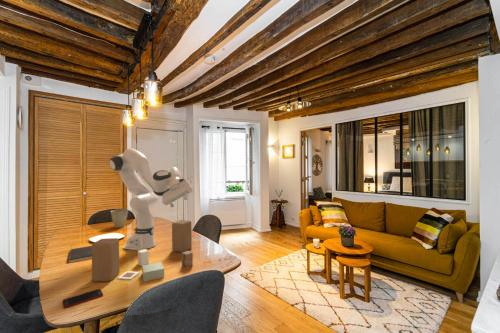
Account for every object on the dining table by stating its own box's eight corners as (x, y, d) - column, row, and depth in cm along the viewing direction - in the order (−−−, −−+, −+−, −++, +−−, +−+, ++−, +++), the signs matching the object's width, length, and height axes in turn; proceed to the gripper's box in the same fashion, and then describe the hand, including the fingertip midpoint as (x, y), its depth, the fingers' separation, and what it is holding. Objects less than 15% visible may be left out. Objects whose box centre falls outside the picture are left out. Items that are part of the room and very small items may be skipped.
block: (192, 248, 175) (191, 220, 175) (182, 253, 166) (182, 223, 166) (181, 246, 179) (181, 219, 179) (171, 250, 170) (171, 222, 170)
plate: (99, 246, 181) (99, 243, 181) (84, 241, 193) (84, 238, 193) (129, 238, 200) (129, 235, 200) (113, 234, 213) (113, 231, 213)
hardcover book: (96, 248, 178) (96, 244, 178) (98, 258, 159) (98, 254, 159) (69, 252, 169) (69, 249, 169) (67, 263, 150) (67, 260, 150)
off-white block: (137, 264, 148) (137, 251, 148) (145, 261, 152) (145, 249, 151) (141, 266, 145) (141, 252, 145) (148, 263, 149) (148, 250, 149)
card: (117, 279, 129) (117, 277, 129) (126, 272, 137) (126, 270, 137) (131, 279, 128) (131, 278, 128) (139, 273, 136) (139, 271, 136)
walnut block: (181, 266, 145) (181, 252, 145) (188, 263, 148) (188, 250, 148) (186, 268, 142) (186, 254, 142) (192, 265, 145) (192, 252, 145)
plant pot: (107, 228, 229) (107, 211, 229) (118, 224, 244) (118, 208, 244) (121, 229, 227) (121, 212, 226) (131, 225, 241) (131, 209, 241)
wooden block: (101, 273, 135) (101, 238, 135) (120, 272, 136) (119, 237, 136) (91, 282, 125) (90, 244, 125) (111, 281, 126) (111, 243, 126)
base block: (142, 274, 135) (142, 265, 135) (161, 270, 140) (161, 261, 140) (144, 282, 126) (144, 272, 126) (164, 277, 131) (164, 268, 131)
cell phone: (62, 301, 108) (62, 299, 108) (100, 290, 118) (100, 288, 118) (63, 309, 103) (63, 307, 103) (103, 297, 112) (103, 294, 112)
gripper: (159, 191, 154) (160, 208, 145) (187, 176, 154) (190, 192, 144) (165, 196, 159) (167, 213, 150) (192, 182, 158) (195, 197, 149)
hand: (178, 202), depth 147 cm, fingers open, 8 cm apart
